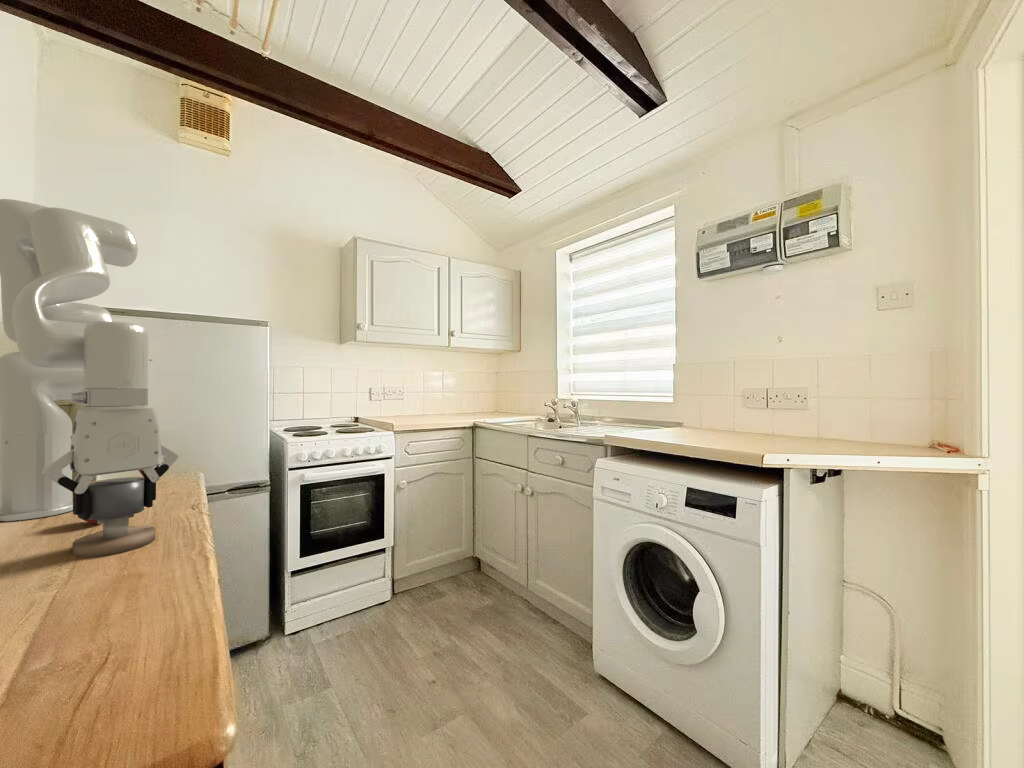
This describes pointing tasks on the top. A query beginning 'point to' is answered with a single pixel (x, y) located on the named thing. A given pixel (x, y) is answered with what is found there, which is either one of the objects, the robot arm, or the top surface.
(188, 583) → the top surface
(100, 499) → the grey striped cylinder
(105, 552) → the post base
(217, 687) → the top surface
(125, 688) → the top surface
